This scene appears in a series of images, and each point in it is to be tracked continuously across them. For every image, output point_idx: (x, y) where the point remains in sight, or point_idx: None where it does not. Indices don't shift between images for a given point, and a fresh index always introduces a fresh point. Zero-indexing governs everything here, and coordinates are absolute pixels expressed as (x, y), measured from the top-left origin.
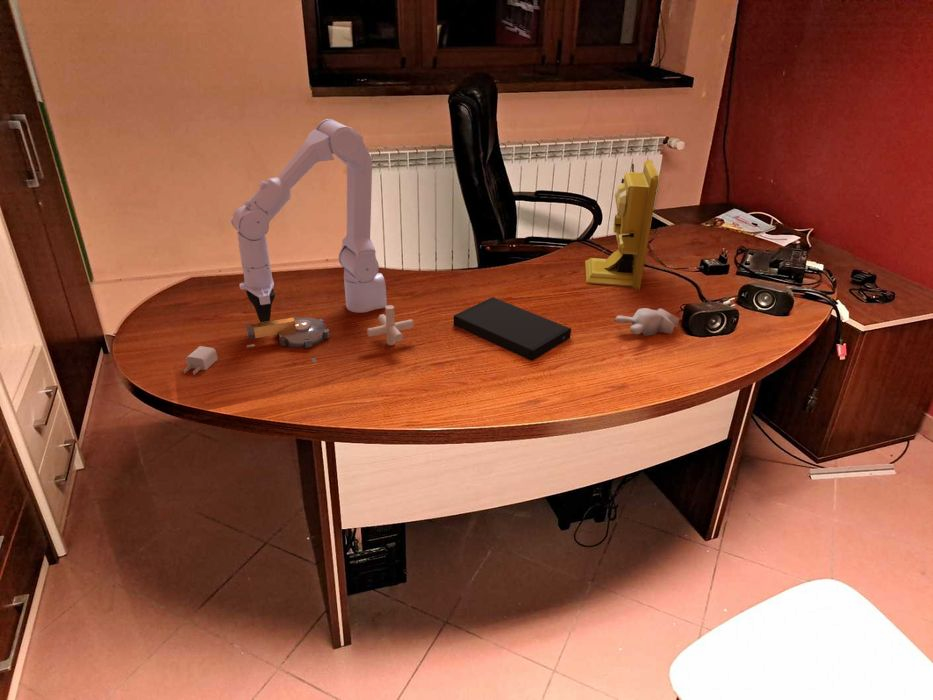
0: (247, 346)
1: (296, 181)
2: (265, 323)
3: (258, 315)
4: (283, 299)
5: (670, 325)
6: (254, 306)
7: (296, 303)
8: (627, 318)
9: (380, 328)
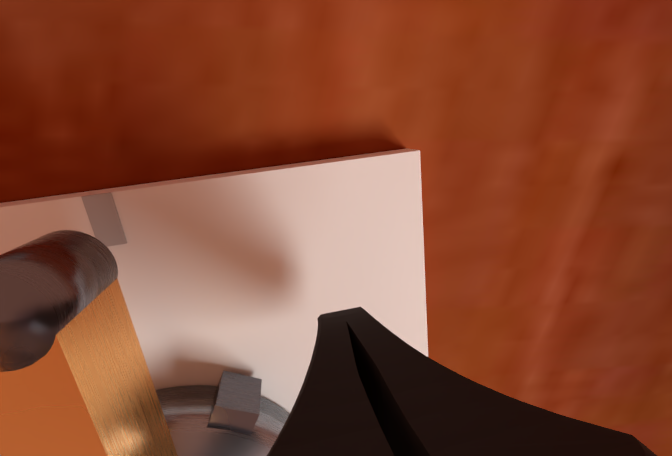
0: (90, 199)
1: None
2: (64, 449)
3: (316, 350)
4: (657, 346)
5: None
6: (276, 440)
7: (593, 399)
8: None
9: None
